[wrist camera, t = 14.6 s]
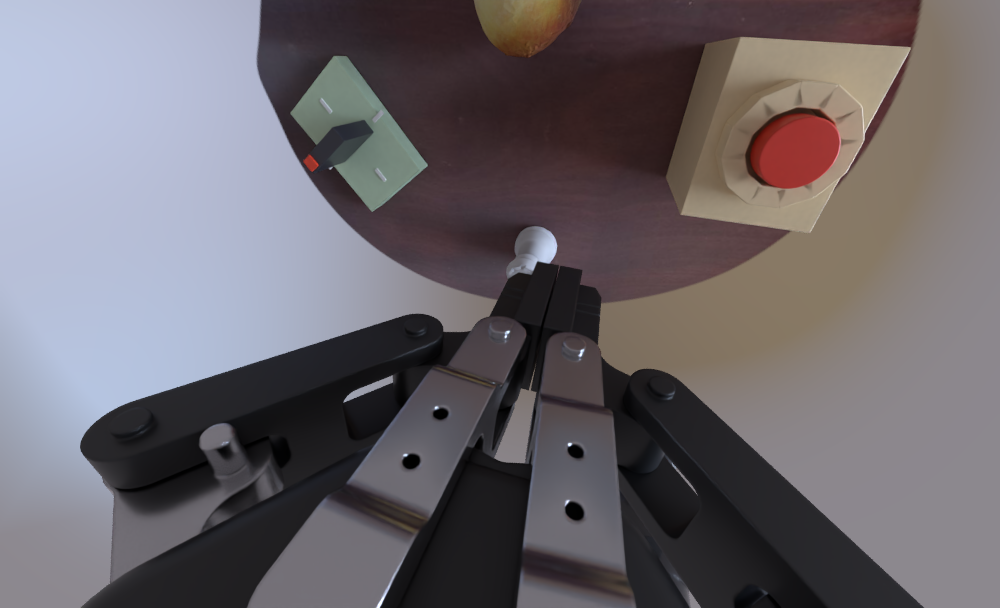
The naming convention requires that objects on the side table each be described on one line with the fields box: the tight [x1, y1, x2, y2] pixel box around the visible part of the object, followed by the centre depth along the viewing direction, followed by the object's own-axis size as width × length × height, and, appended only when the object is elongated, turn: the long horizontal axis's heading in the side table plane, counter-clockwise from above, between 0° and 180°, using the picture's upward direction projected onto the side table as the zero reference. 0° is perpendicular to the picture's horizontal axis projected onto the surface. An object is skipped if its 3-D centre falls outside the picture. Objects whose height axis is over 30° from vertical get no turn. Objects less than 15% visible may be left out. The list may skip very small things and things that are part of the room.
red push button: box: [750, 113, 841, 189], centre depth 21 cm, size 4×4×2 cm
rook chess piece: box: [506, 226, 557, 279], centre depth 38 cm, size 4×4×8 cm
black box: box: [303, 120, 374, 173], centre depth 36 cm, size 5×1×5 cm, turn 127°
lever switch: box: [290, 56, 428, 211], centre depth 39 cm, size 12×9×2 cm
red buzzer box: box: [666, 37, 911, 233], centre depth 26 cm, size 10×8×12 cm
